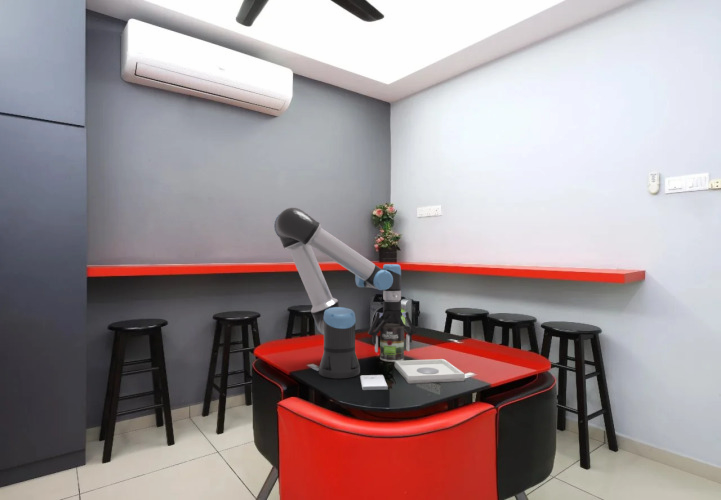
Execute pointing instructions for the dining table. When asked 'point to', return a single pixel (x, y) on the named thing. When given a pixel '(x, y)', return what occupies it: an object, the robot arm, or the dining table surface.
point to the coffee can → (392, 342)
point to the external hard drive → (373, 382)
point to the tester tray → (428, 371)
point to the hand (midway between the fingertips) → (392, 351)
